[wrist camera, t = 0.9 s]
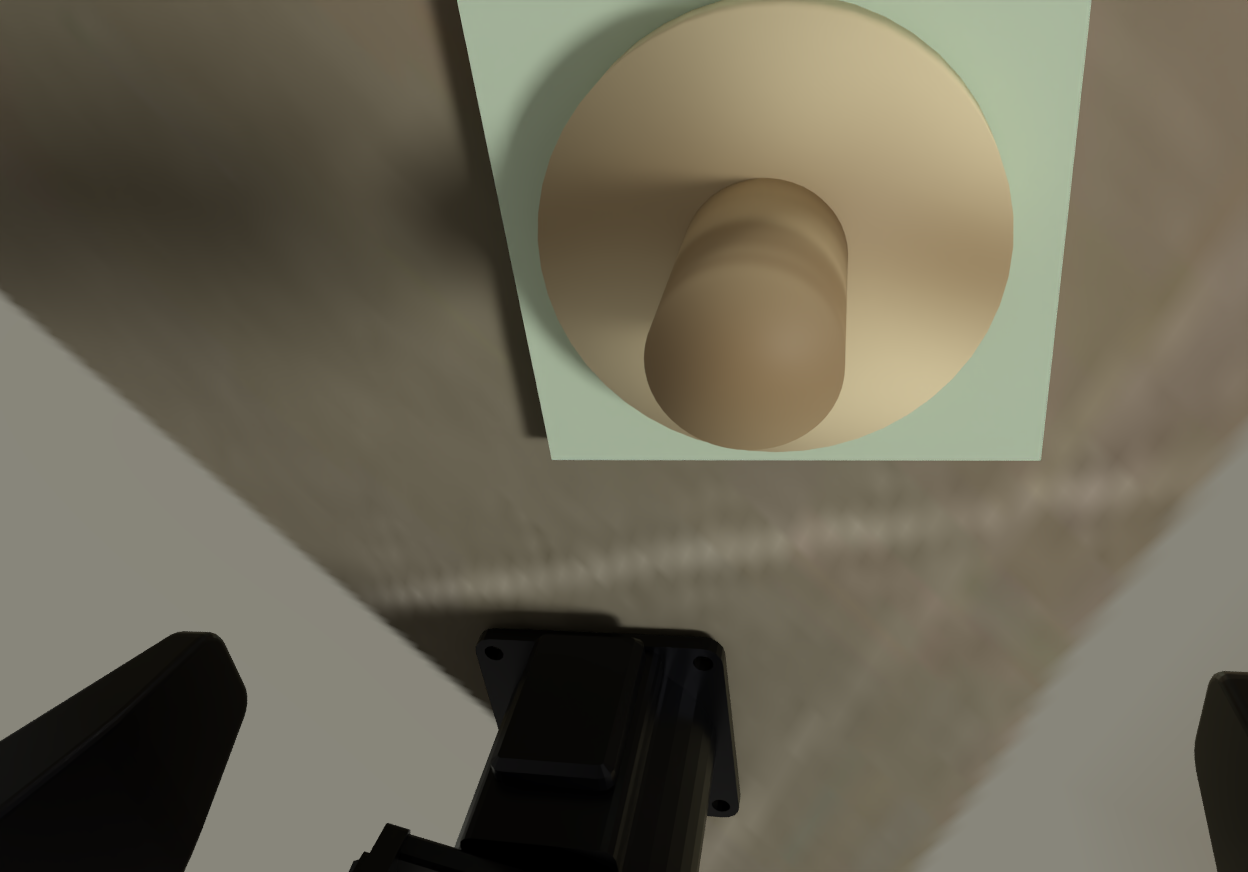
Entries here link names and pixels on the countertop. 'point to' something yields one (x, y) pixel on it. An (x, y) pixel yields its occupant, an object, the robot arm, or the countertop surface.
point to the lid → (776, 224)
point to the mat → (1012, 105)
